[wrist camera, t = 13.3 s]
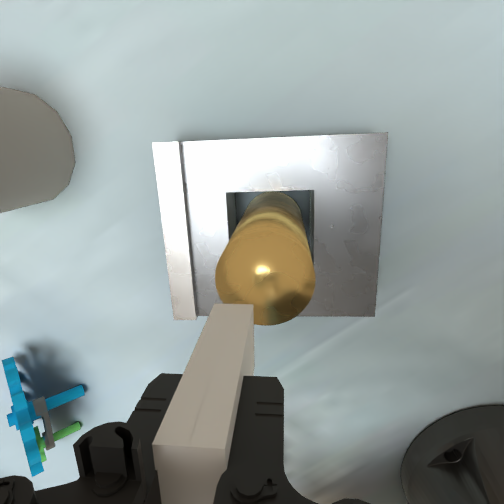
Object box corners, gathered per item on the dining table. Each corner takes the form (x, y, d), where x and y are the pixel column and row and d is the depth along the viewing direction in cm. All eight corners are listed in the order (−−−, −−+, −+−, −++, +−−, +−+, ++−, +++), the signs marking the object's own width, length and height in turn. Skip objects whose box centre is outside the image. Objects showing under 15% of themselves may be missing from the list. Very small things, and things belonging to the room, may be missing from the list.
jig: (371, 133, 24) (391, 132, 20) (362, 292, 28) (376, 320, 23) (174, 142, 25) (152, 142, 21) (190, 292, 29) (173, 319, 25)
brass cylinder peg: (301, 190, 26) (316, 231, 14) (301, 247, 27) (314, 325, 16) (242, 192, 26) (211, 233, 15) (245, 248, 28) (218, 325, 16)
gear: (-13, 340, 30) (6, 425, 24) (62, 318, 34) (96, 387, 27) (11, 424, 35) (32, 514, 29) (74, 398, 39) (105, 472, 32)
